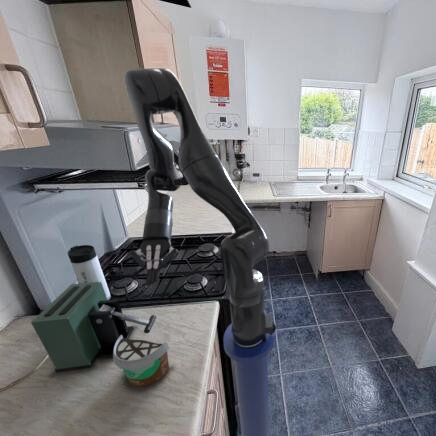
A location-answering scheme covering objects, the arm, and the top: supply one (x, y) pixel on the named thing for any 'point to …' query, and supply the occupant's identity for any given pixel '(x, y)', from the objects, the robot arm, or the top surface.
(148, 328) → the lever
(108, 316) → the bracket
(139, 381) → the food container
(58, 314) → the toaster body
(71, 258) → the travel mug
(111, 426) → the top surface
